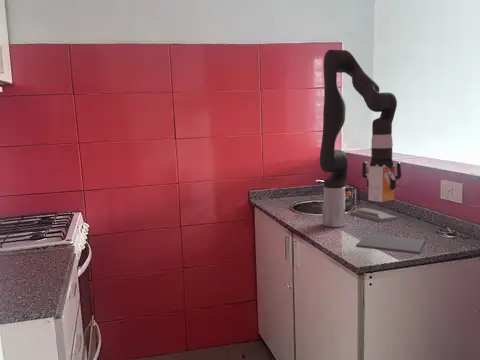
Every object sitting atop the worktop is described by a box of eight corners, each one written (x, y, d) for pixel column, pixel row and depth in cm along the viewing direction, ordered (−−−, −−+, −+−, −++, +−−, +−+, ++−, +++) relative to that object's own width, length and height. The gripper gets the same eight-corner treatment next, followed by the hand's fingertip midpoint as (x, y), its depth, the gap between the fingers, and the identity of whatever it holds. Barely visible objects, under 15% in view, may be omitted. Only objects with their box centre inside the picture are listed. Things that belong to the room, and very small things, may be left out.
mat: (356, 246, 168) (356, 244, 168) (366, 235, 182) (366, 234, 182) (419, 253, 157) (419, 251, 157) (425, 241, 171) (425, 239, 171)
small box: (382, 202, 167) (382, 167, 165) (367, 200, 172) (368, 166, 170) (394, 199, 172) (395, 165, 170) (380, 197, 177) (380, 164, 175)
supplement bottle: (344, 206, 237) (344, 185, 236) (353, 208, 233) (353, 187, 231) (337, 208, 234) (337, 187, 232) (346, 210, 229) (346, 188, 227)
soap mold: (380, 223, 203) (380, 215, 202) (349, 215, 220) (349, 208, 219) (396, 220, 207) (396, 212, 207) (365, 212, 225) (365, 206, 224)
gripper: (360, 147, 169) (360, 190, 171) (400, 147, 163) (399, 191, 165) (364, 145, 176) (364, 187, 178) (403, 145, 169) (402, 188, 171)
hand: (381, 189), depth 171 cm, fingers closed on small box, 8 cm apart
